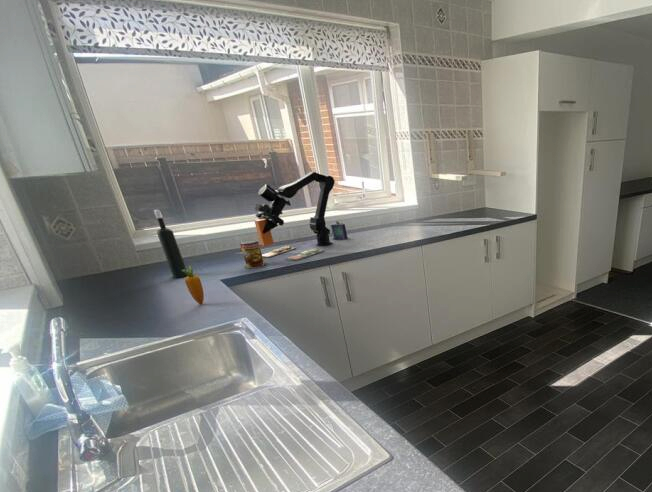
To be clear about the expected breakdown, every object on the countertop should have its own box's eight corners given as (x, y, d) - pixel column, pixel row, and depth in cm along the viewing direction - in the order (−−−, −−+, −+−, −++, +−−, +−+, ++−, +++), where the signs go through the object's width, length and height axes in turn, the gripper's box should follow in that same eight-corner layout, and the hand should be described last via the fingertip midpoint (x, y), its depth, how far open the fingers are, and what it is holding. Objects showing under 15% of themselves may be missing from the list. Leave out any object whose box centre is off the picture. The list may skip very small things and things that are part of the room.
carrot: (197, 307, 158) (183, 269, 152) (191, 305, 161) (177, 267, 154) (211, 303, 162) (198, 265, 155) (204, 301, 164) (191, 264, 158)
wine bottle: (186, 276, 195) (162, 210, 182) (172, 278, 193) (146, 211, 180) (189, 273, 200) (166, 208, 187) (175, 275, 198) (150, 209, 185)
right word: (313, 250, 234) (312, 247, 233) (323, 251, 232) (322, 248, 231) (286, 259, 218) (286, 256, 218) (297, 260, 216) (296, 257, 215)
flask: (332, 239, 259) (328, 221, 254) (334, 238, 262) (331, 220, 257) (346, 239, 258) (343, 221, 253) (348, 238, 261) (345, 220, 256)
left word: (286, 248, 241) (285, 245, 240) (295, 248, 239) (295, 246, 238) (258, 256, 225) (257, 253, 224) (268, 257, 223) (267, 254, 222)
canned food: (249, 268, 204) (241, 244, 199) (245, 265, 210) (237, 241, 205) (266, 265, 209) (259, 241, 204) (262, 262, 214) (255, 238, 209)
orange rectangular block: (270, 243, 225) (264, 218, 219) (274, 244, 222) (267, 219, 216) (261, 245, 221) (254, 220, 215) (264, 246, 219) (257, 221, 213)
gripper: (254, 196, 219) (238, 221, 216) (271, 198, 209) (255, 225, 206) (273, 209, 228) (258, 234, 225) (290, 212, 218) (275, 238, 215)
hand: (261, 232), depth 218 cm, fingers closed on orange rectangular block, 4 cm apart
